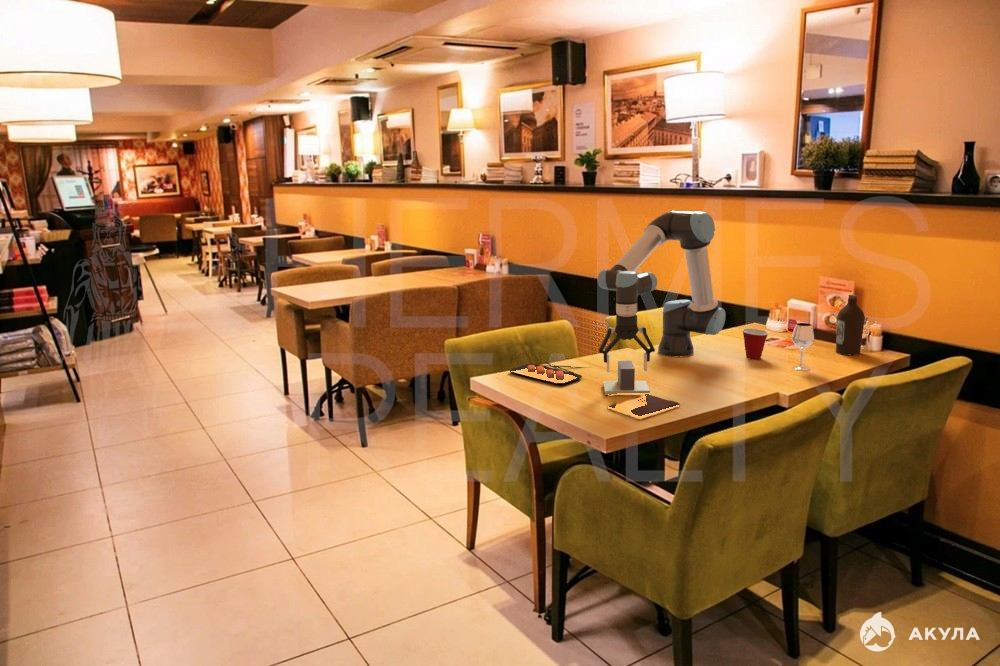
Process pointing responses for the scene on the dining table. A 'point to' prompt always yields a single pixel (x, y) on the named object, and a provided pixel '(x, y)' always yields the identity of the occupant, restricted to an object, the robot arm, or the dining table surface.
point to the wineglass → (802, 340)
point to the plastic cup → (754, 342)
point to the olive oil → (850, 328)
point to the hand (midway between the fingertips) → (626, 370)
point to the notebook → (652, 405)
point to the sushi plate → (549, 371)
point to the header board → (614, 388)
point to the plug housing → (626, 375)
